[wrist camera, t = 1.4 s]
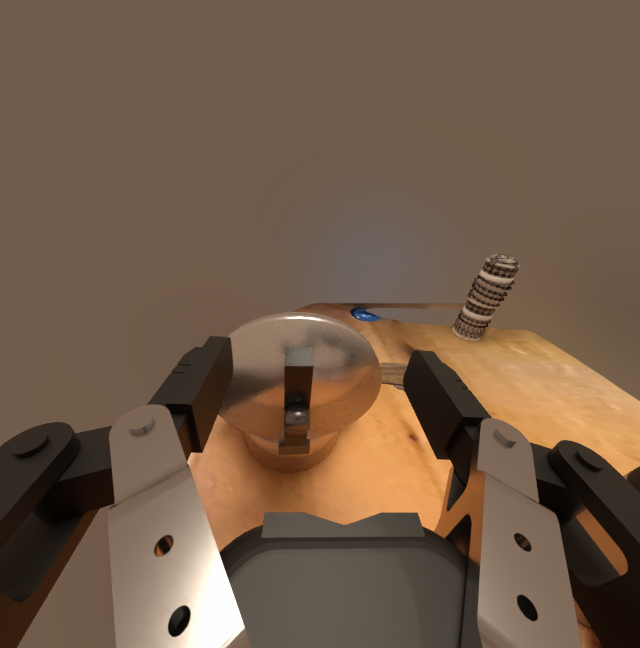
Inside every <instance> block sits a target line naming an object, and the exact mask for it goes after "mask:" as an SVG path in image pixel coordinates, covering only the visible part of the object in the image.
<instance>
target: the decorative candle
mask: <svg viewBox="0 0 640 648" xmlns="http://www.w3.org/2000/svg"><path fill="white" fill-rule="evenodd" d="M486 260H487V261H486V263H485V265H484V267H483V269H482V270H481V272H480V274H479V275H480V276H479V275H478V277H476V278H475V280H474V282H473V284H472V287H473V288H472V289H470V291H469V294H468V296H467V298H468V301H467V303H466V304H465V305H464V307H463V309H462V310H461V311H460V313H461V314H459V315H458V317H459V318H457V319H456V321H455V323H454V326H453V328H452V331H453V332H454V333H455V334H456V335H457V336H459V337H460V338H463V339H465V340H469V341H478V340H480V339H481V336H483V332H485V330H486V327H488V323H490V322H491V317H492V316H493V313H494V311H495V309H496V308H498V307H499V306H500V305H499V301H503V300H504V298H503V296H507V293H506V292H505V290H511V286H510V285H512V284H514V281H513V279H514V276H515V274H516V272H517V270H518V269H519V268H520V266H519V265H518V260H517V259H515V258H513V257H510V256H506V255H500V254H496V255H492V256H491V257H490V258H486ZM477 279H478V281H477ZM475 284H476V285H475Z"/></svg>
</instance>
